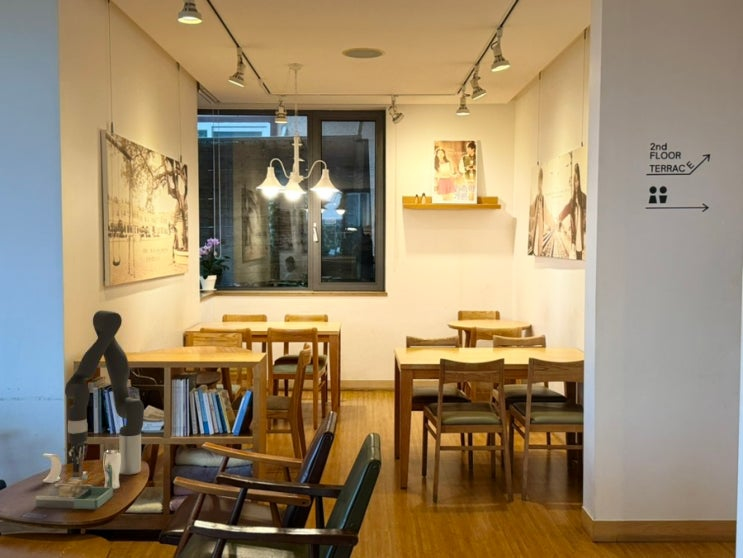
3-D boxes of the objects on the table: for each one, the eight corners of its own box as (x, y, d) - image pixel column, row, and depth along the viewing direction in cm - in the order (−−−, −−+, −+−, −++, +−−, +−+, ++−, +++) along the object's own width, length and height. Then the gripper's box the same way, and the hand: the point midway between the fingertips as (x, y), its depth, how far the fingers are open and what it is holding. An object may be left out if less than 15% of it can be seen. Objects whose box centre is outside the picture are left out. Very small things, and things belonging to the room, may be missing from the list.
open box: (55, 493, 281) (55, 483, 281) (91, 495, 280) (91, 484, 280) (35, 507, 266) (35, 496, 266) (73, 508, 265) (73, 497, 265)
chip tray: (91, 495, 280) (91, 486, 280) (113, 496, 279) (113, 487, 279) (73, 508, 265) (73, 499, 265) (96, 509, 265) (96, 500, 264)
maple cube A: (72, 489, 278) (72, 479, 278) (81, 489, 278) (81, 479, 277) (67, 492, 274) (67, 482, 274) (76, 493, 274) (76, 483, 273)
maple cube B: (64, 494, 272) (64, 484, 272) (74, 494, 272) (74, 484, 271) (59, 497, 268) (59, 487, 268) (69, 498, 268) (69, 488, 267)
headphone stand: (43, 481, 295) (43, 454, 295) (52, 477, 301) (52, 450, 300) (52, 483, 294) (52, 455, 294) (61, 478, 300) (61, 451, 299)
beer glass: (120, 489, 288) (120, 453, 287) (102, 490, 285) (102, 454, 285) (121, 484, 294) (121, 449, 294) (103, 485, 292) (103, 450, 292)
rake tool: (80, 478, 294) (80, 450, 294) (87, 478, 294) (87, 450, 294) (68, 487, 283) (67, 458, 283) (75, 487, 283) (74, 458, 283)
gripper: (77, 425, 295) (77, 465, 296) (60, 434, 281) (60, 476, 282) (94, 425, 295) (94, 465, 295) (78, 434, 281) (78, 476, 281)
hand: (77, 470), depth 289 cm, fingers closed on rake tool, 3 cm apart
